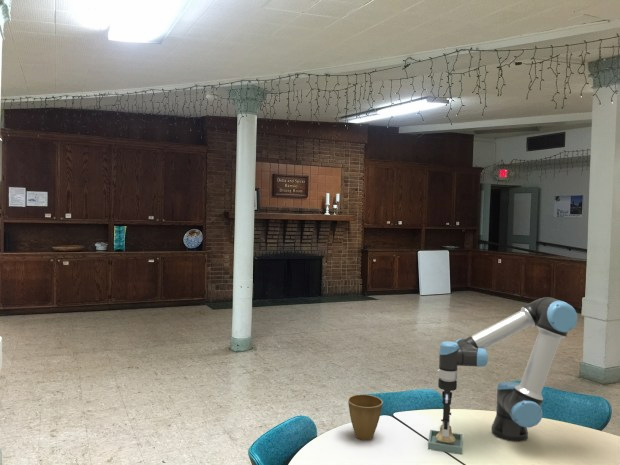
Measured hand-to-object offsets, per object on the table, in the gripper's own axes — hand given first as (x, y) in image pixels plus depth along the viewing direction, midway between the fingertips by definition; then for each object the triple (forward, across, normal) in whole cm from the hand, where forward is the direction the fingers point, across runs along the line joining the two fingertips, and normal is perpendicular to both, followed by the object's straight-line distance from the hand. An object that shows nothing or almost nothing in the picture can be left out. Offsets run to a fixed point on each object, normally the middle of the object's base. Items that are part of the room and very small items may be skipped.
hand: (445, 433), depth 216 cm
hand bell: (+3, 0, 0) cm, 3 cm away
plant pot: (+5, +4, -34) cm, 35 cm away
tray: (+5, 0, 0) cm, 5 cm away
